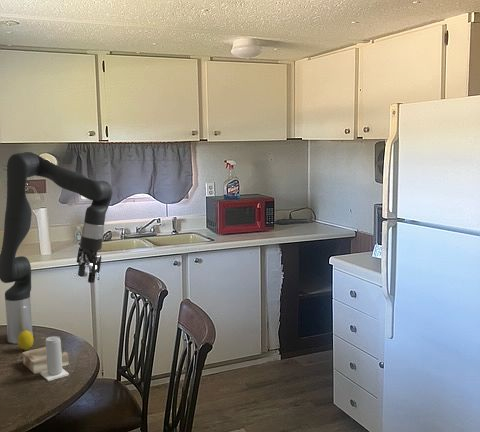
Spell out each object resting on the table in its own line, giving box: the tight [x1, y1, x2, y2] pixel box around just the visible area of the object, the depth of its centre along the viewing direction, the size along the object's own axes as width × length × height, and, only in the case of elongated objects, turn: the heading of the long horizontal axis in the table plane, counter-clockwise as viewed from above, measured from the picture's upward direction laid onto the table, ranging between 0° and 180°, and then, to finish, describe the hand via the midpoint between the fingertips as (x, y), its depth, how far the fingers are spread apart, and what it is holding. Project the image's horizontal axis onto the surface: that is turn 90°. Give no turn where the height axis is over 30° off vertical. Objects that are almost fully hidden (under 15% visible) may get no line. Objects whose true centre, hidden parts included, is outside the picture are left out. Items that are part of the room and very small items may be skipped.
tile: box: [40, 368, 70, 382], centre depth 183 cm, size 7×7×1 cm
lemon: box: [17, 330, 34, 351], centre depth 204 cm, size 6×6×8 cm
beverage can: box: [44, 335, 64, 375], centre depth 182 cm, size 5×5×12 cm
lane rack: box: [21, 346, 70, 375], centre depth 192 cm, size 12×12×4 cm
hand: (85, 279), depth 197 cm, fingers open, 8 cm apart
